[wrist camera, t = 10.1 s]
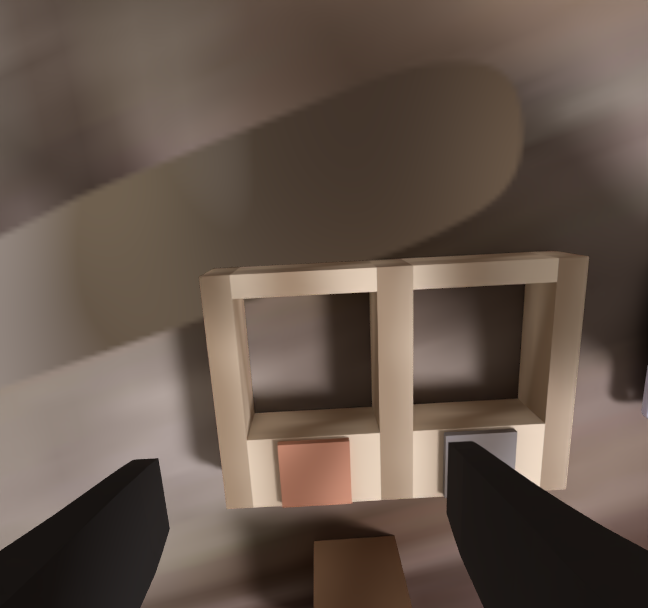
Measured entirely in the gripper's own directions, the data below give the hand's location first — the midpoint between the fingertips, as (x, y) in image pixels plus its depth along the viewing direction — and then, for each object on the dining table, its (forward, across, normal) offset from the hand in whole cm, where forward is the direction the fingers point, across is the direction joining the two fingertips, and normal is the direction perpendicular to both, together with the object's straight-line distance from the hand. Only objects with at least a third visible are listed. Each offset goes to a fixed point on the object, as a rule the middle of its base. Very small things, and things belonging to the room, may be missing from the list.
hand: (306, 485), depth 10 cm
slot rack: (+10, -4, +1) cm, 11 cm away
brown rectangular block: (+8, -2, +11) cm, 14 cm away
